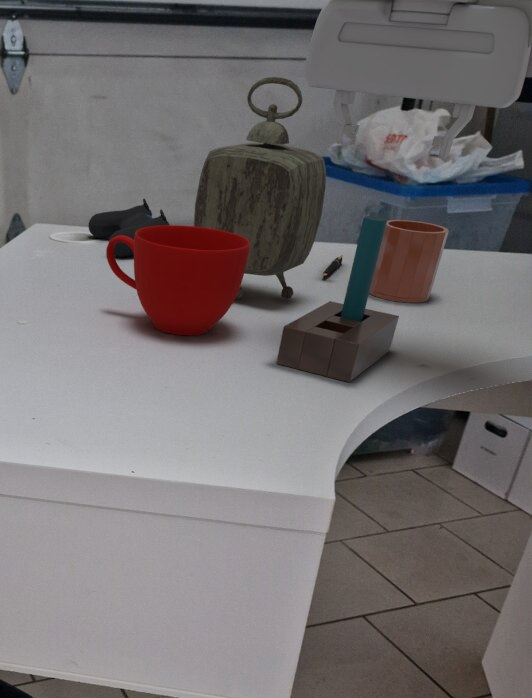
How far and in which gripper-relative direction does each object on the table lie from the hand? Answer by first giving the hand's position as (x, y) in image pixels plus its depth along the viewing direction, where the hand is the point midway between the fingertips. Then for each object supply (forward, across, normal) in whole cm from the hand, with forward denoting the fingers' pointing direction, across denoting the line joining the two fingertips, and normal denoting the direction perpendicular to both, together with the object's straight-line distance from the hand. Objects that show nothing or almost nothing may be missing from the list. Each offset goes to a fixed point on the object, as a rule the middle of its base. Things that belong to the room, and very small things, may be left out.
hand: (390, 150), depth 83 cm
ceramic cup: (+21, +20, +6) cm, 29 cm away
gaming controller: (+21, +45, -26) cm, 56 cm away
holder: (+20, 0, +3) cm, 20 cm away
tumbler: (+20, +3, -31) cm, 37 cm away
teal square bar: (+20, 0, 0) cm, 20 cm away
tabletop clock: (+21, +19, -13) cm, 31 cm away
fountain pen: (+20, +15, -37) cm, 45 cm away
